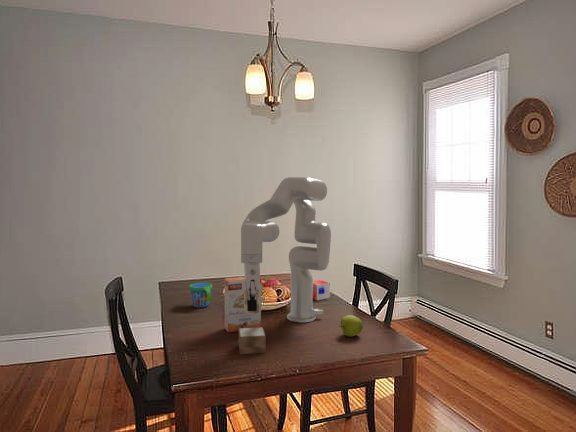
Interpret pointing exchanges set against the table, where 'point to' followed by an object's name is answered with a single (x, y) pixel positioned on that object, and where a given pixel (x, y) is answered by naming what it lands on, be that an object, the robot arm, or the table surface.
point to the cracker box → (239, 306)
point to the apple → (351, 325)
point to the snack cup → (201, 294)
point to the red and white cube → (321, 290)
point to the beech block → (247, 299)
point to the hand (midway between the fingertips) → (251, 308)
